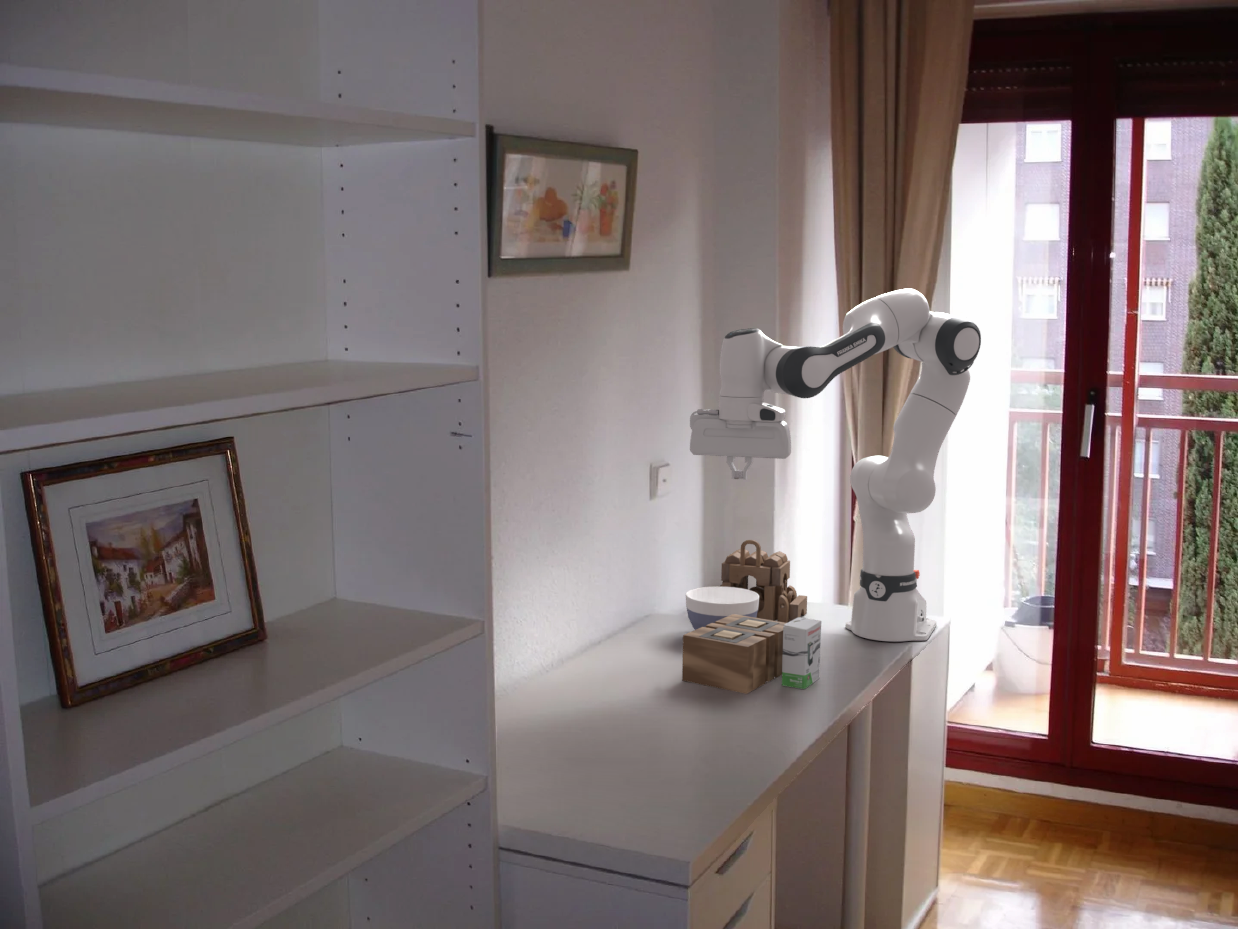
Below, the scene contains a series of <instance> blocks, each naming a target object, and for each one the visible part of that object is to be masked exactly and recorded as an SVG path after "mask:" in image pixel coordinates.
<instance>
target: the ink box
mask: <svg viewBox="0 0 1238 929" xmlns="http://www.w3.org/2000/svg"><path fill="white" fill-rule="evenodd" d="M821 633H822V620H818V619H814V618H808V617H801V616H800V617H798V618H796V619H794V620H792V621H790V622H789V621H788V623H786V624H784V626H783V655H782V675H781V686H783V687H790V688H794V689H795V688H796V689H801V690H806V689H807V688H809V686H811V685H812V684H814V683H815V682H816V681H818V680H819V679H820V677H821V676H820V672H821V671H820V669H821V668H820V667H821V641H822V640H821V638H822V634H821Z"/></svg>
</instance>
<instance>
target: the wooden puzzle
mask: <svg viewBox="0 0 1238 929" xmlns="http://www.w3.org/2000/svg"><path fill="white" fill-rule="evenodd" d="M747 545H753V546H755V548H756V549H755V550H756V551H753V552H752V553H751V554H750V551H749V550H747V549H746V546H747ZM761 548H762V547H761V544H760V543H759V542H758V541H757V540H754V539H747V540H744V541H743V542H742V543H741V545H740V548H739V549H736V550H734V551H733V552H732V553H730V554H729V555H727V556H726V558H725V560H724V561H723V562H722V563H721V574H720V575H721V576H720V577H721V579H720V581H721V582H722V583H721V584H720V585H719V587H735V588H742V589H747V590H751V591H753V592H756V593H757V594H758V595H759V606H758V612H757V616H756V618H760V619H766V620H772V621H778V622H784V623H788V622H790V621H792V620H794V619H796V618H798V617H801V616H806V615H807V613H808V612H807V611H808V596H807V595H801V594H797V590H796V589H795V587H794V586H793V585H791V584H790V585H788V580H789V579H790V578H791V576H790V575H791V560H788V556H787V554H786V553H784V552H782V551H780V550H779V551H777V552H773V553H772V554H771V555H769V556H768V552H766V551H764V550H762V549H761ZM749 576H751V577H753V578H754V579H755V581H756V582H755V586H751V587H750V588H749Z"/></svg>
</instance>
